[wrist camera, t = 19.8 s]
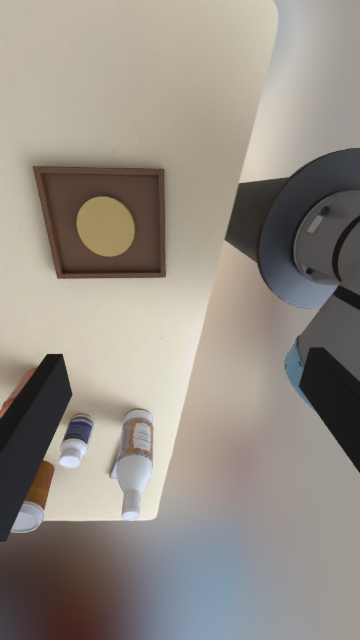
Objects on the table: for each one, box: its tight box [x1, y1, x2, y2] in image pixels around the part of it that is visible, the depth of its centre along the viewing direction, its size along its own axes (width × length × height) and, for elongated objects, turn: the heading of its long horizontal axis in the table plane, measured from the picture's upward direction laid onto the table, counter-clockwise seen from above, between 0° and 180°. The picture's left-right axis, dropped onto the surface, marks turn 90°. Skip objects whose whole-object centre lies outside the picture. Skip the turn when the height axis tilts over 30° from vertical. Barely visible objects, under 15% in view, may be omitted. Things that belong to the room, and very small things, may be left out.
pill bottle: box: [59, 415, 94, 468], centre depth 54 cm, size 5×5×10 cm
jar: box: [0, 368, 37, 418], centre depth 48 cm, size 8×8×10 cm
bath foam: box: [116, 410, 153, 521], centre depth 50 cm, size 7×7×20 cm
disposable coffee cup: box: [11, 461, 54, 533], centre depth 59 cm, size 10×10×12 cm
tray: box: [33, 166, 166, 279], centre depth 38 cm, size 18×16×2 cm
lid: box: [77, 196, 136, 257], centre depth 38 cm, size 9×9×2 cm
